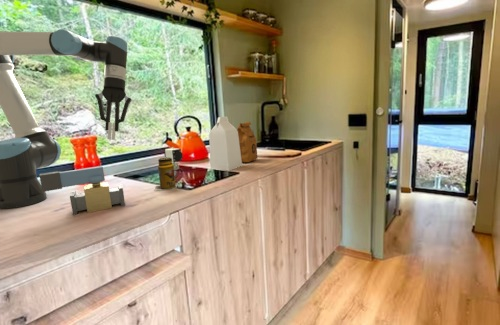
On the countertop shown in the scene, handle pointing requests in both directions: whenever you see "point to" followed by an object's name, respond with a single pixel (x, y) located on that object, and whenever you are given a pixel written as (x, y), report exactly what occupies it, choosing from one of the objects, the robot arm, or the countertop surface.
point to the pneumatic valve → (174, 156)
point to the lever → (71, 178)
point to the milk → (224, 146)
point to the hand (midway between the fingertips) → (111, 139)
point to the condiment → (166, 174)
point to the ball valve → (97, 197)
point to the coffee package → (247, 143)
